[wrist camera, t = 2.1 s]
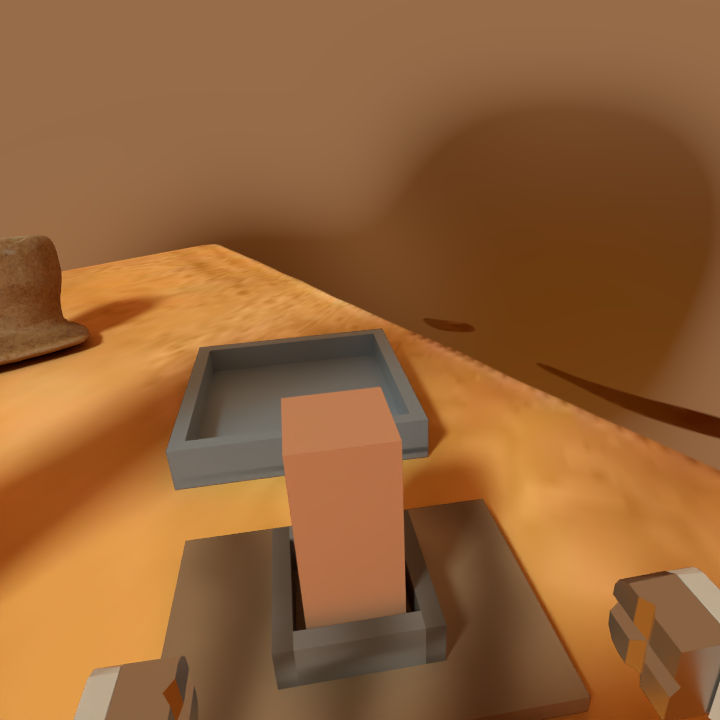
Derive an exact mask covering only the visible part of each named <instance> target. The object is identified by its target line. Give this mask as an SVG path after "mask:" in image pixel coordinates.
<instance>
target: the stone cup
mask: <svg viewBox="0 0 720 720" xmlns="http://www.w3.org/2000/svg"><path fill="white" fill-rule="evenodd" d="M61 279H62V278H61V268H60V264H59V260H58V256H57V252H56V249H55V246H54V244H53V242H52V241H51V240H50V239H49V238H48V237H46V236H43V235H31V236H18V237H7V238H0V366H1V365H5V364H9V363H14V362H18V361H22V360H25V359H29V358H33V357H37V356H41V355H44V354H48V353H52V352H55V351H58V350H61V349H64V348H68V347H71V346H74V345H77V344H80V343H83V342H84V341H86V340H87V339H88V338H89V331H88V329H87V328H86V327H85V326H83V325H80V324H78V323H74V322H69V321H68V320H66V319H65V318H64V317H63V314H62V310H61V304H60V294H61Z"/></svg>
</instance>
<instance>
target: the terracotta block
mask: <svg viewBox="0 0 720 720" xmlns="http://www.w3.org/2000/svg"><path fill="white" fill-rule="evenodd" d="M281 417H282V457H283V464H284V471H285V479H286V486H287V493H288V500H289V507H290V515H291V522H292V529H293V536H294V544H295V551H296V558H297V565H298V573H299V580H300V587H301V594H302V602H303V609H304V616H305V623H306V629H312V628H318V627H324V626H330V625H336V624H342V623H349V622H355V621H361V620H367V619H373V618H379V617H385V616H391V615H398V614H404V613H406V587H405V548H404V508H403V468H402V440H401V437H400V435H399V432H398V430H397V427H396V425H395V422H394V420H393V417H392V414H391V412H390V409H389V407H388V404H387V402H386V399H385V397H384V394H383V391H382V389H381V387H374V388H365V389H357V390H348V391H339V392H331V393H322V394H313V395H305V396H296V397H288V398H281Z"/></svg>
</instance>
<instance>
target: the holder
mask: <svg viewBox="0 0 720 720" xmlns="http://www.w3.org/2000/svg"><path fill="white" fill-rule="evenodd" d="M404 548H405V587H406V613H404V614H398V615H391V616H385V617H379V618H373V619H367V620H361V621H355V622H349V623H342V624H336V625H330V626H324V627H318V628H312V629H306V623H305V616H304V609H303V602H302V594H301V587H300V580H299V573H298V565H297V558H296V551H295V544H294V536H293V529H292V526H287V527H280V528H273V529H266V530H259V531H252V532H245V533H238V534H231V535H224V536H217V537H210V538H203V539H196V540H189V541H186V542H185V546H184V551H183V556H182V561H181V566H180V570H179V575H178V580H177V585H176V589H175V594H174V599H173V604H172V608H171V613H170V618H169V623H168V627H167V632H166V637H165V642H164V647H163V651H162V656H161V659H164V658H171V657H178V656H185V658H186V661H187V663H188V666H189V672H188V679H187V681H189V682H190V683H192V684H194V686H195V690H196V693H197V700H198V720H543V719H548V718H553V717H558V716H564V715H569V714H574V713H579V712H585V711H588V708H589V703H590V695H589V693H588V691H587V689H586V688H585V686H584V684H583V682H582V680H581V678H580V677H579V675H578V673H577V671H576V669H575V667H574V666H573V664H572V662H571V660H570V658H569V656H568V655H567V653H566V651H565V649H564V647H563V645H562V644H561V642H560V640H559V638H558V636H557V634H556V633H555V631H554V629H553V627H552V625H551V623H550V622H549V620H548V618H547V616H546V614H545V612H544V610H543V609H542V607H541V605H540V603H539V601H538V599H537V598H536V596H535V594H534V592H533V590H532V588H531V587H530V585H529V583H528V581H527V579H526V577H525V576H524V574H523V572H522V570H521V568H520V566H519V565H518V563H517V561H516V559H515V557H514V555H513V554H512V552H511V550H510V548H509V546H508V544H507V543H506V541H505V539H504V537H503V535H502V533H501V532H500V530H499V528H498V526H497V524H496V522H495V521H494V519H493V517H492V515H491V513H490V511H489V509H488V508H487V506H486V504H485V502H484V500H483V499H478V500H471V501H463V502H456V503H449V504H442V505H435V506H428V507H421V508H414V509H407V510H404Z"/></svg>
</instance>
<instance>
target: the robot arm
mask: <svg viewBox="0 0 720 720" xmlns="http://www.w3.org/2000/svg"><path fill="white" fill-rule="evenodd" d="M613 595H614V596H615V597H616V599H617V600H618V603H617V604H616V605H615V606H614V607H613V608H612V609H611V610H610V616H609V628H610V633H611V638H612V640H613V643H614V645H615V647H616V649H617V651H618V653H619V655H620V656H621V658H622V659H623V661H624V663H625V664H627V665H628V666H630V667H631V668H633V669H634V670H636V671H638V672H639V673H640V687H641V689H642V690H643V692H644V694H645V695H646V697H647V698H648V700H649V701H650V703H651V704H652V706H653V707H654V709H655V710H656V712H657V713H658V715H659V717H660V718H661V720H679V719H685V718H691V717H697V716H703V715H709V716H708V718H710V719H711V720H720V590H719V589H718V588H717V586H716V585H715V584H714V583H713V582H712V581H711V580H710V579H709V578H708V577H707V576H706V575H705V574H704V573H703V572H702V571H701V570H699V569H697V568H695V567H689V568H683V569H677V570H672V571H662V572H657V573H652V574H646V575H641V576H636V577H630V578H625V579H620V580H619V581H618V582H617V583H616V584H615V587H614V592H613ZM188 672H189V666H188V663H187V661H186V658H185V656H178V657H171V658H164V659H157V660H150V661H143V662H136V663H129V664H123V665H117V666H110V667H104V668H98V669H94V670H93V672H92V673H91V675H90V676H89V678H88V679H87V682H86V685H85V688H84V691H83V694H82V697H81V699H80V702H79V705H78V708H77V711H76V714H75V717H74V720H198V700H197V693H196V690H195V686H194V684H192V683H190V682H189V681H187V679H188Z"/></svg>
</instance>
